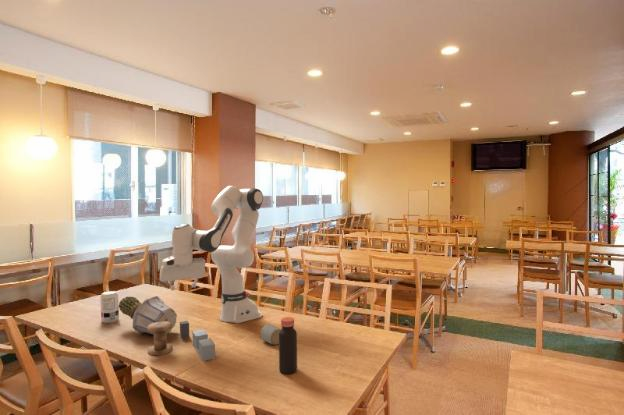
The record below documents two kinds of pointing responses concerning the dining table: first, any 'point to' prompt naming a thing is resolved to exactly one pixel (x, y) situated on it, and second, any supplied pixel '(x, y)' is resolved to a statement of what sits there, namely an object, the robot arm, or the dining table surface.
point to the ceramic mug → (270, 334)
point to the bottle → (287, 346)
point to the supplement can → (109, 307)
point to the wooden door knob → (160, 338)
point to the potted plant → (147, 313)
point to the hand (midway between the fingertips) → (183, 288)
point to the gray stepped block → (203, 345)
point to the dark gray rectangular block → (184, 329)
